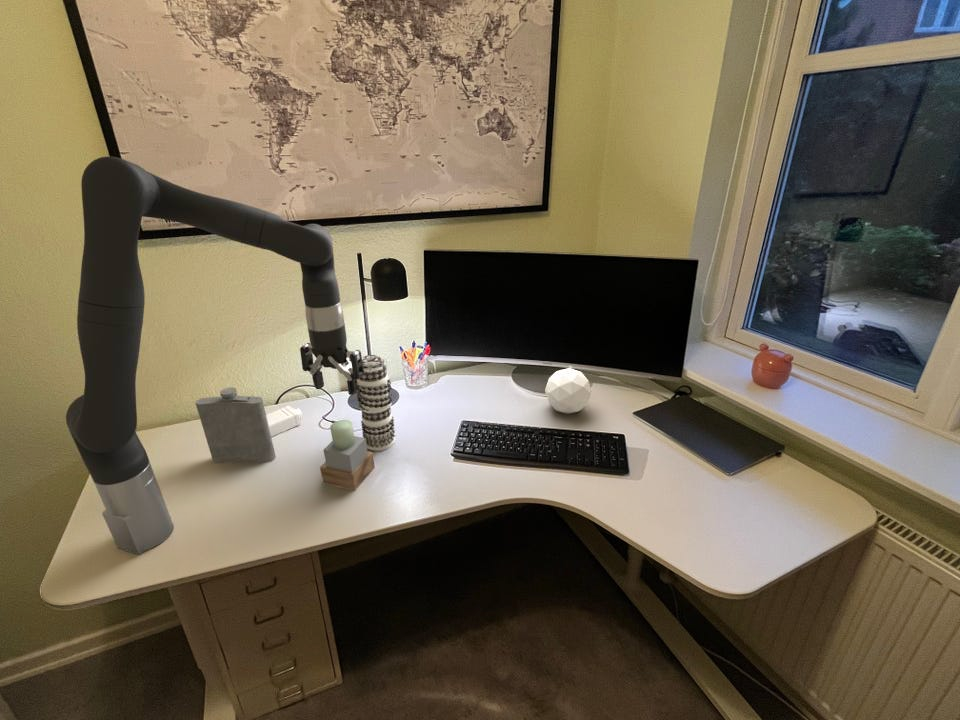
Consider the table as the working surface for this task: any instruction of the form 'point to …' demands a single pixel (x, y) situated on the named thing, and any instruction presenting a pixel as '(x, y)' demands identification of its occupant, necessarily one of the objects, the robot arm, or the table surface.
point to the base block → (348, 474)
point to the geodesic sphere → (568, 390)
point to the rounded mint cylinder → (342, 434)
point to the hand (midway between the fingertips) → (336, 390)
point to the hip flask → (236, 427)
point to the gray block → (346, 455)
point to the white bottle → (283, 420)
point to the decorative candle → (376, 404)
